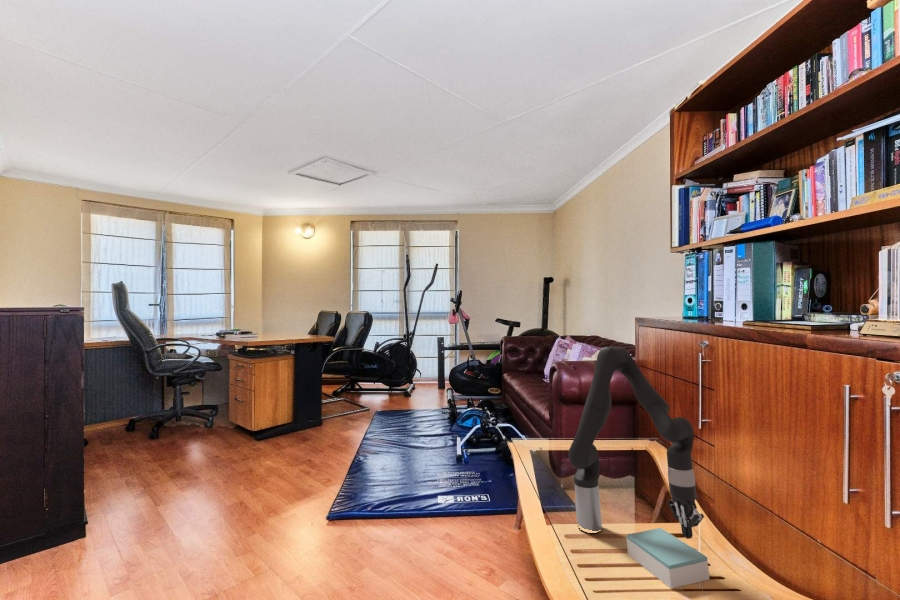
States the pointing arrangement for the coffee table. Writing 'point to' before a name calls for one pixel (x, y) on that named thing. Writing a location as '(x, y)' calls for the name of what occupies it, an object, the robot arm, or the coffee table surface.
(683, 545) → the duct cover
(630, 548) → the open box
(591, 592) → the coffee table surface
